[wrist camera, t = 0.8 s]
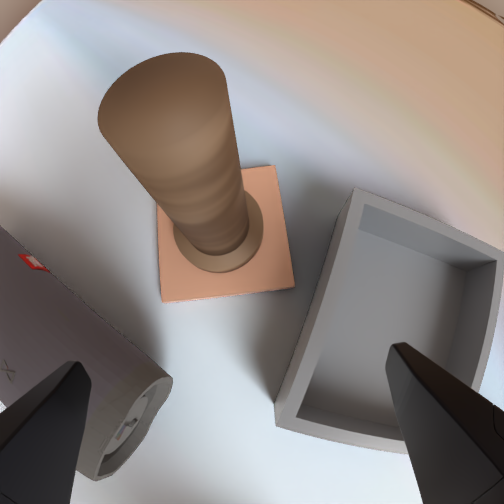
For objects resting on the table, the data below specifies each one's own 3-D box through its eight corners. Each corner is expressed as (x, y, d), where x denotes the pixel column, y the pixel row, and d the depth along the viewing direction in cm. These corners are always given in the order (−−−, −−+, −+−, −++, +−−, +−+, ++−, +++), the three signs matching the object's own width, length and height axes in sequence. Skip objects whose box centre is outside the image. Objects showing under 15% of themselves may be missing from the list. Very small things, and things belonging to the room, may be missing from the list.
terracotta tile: (293, 287, 21) (294, 286, 20) (165, 303, 21) (161, 302, 20) (274, 170, 23) (275, 165, 23) (160, 187, 23) (157, 183, 23)
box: (420, 438, 18) (452, 458, 13) (273, 404, 19) (275, 426, 14) (468, 267, 21) (505, 252, 16) (337, 216, 22) (354, 187, 17)
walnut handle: (245, 285, 20) (207, 205, 7) (164, 256, 21) (45, 158, 8) (275, 205, 22) (282, 50, 9) (197, 181, 22) (134, 35, 9)
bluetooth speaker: (195, 358, 20) (137, 379, 11) (139, 454, 19) (70, 511, 9) (13, 218, 24) (-55, 178, 14) (-22, 296, 22) (-93, 277, 12)
